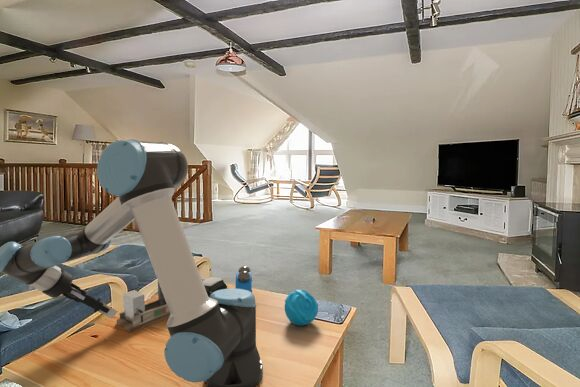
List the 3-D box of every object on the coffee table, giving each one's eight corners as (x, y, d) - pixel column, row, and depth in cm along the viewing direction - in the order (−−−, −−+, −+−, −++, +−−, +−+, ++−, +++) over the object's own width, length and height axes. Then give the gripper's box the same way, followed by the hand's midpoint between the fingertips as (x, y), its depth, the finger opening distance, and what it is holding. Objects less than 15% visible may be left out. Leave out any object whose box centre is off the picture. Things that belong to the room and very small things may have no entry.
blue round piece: (296, 335, 108) (296, 301, 107) (277, 321, 118) (277, 290, 116) (323, 324, 115) (324, 292, 114) (303, 312, 125) (303, 282, 123)
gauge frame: (182, 311, 126) (181, 282, 125) (130, 332, 110) (129, 299, 109) (168, 304, 132) (166, 276, 131) (116, 323, 116) (115, 292, 115)
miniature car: (184, 306, 130) (183, 287, 130) (213, 290, 147) (212, 273, 146) (202, 311, 127) (201, 290, 126) (230, 293, 143) (229, 276, 142)
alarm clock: (237, 299, 137) (236, 263, 135) (252, 298, 138) (251, 263, 136) (235, 313, 124) (235, 274, 122) (252, 312, 125) (251, 274, 123)
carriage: (148, 321, 114) (146, 296, 114) (136, 325, 111) (135, 299, 110) (135, 313, 120) (134, 290, 119) (124, 318, 117) (122, 293, 116)
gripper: (33, 286, 98) (97, 319, 112) (49, 297, 90) (115, 331, 105) (53, 264, 101) (112, 299, 116) (69, 273, 93) (131, 309, 108)
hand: (113, 314), depth 110 cm, fingers closed
